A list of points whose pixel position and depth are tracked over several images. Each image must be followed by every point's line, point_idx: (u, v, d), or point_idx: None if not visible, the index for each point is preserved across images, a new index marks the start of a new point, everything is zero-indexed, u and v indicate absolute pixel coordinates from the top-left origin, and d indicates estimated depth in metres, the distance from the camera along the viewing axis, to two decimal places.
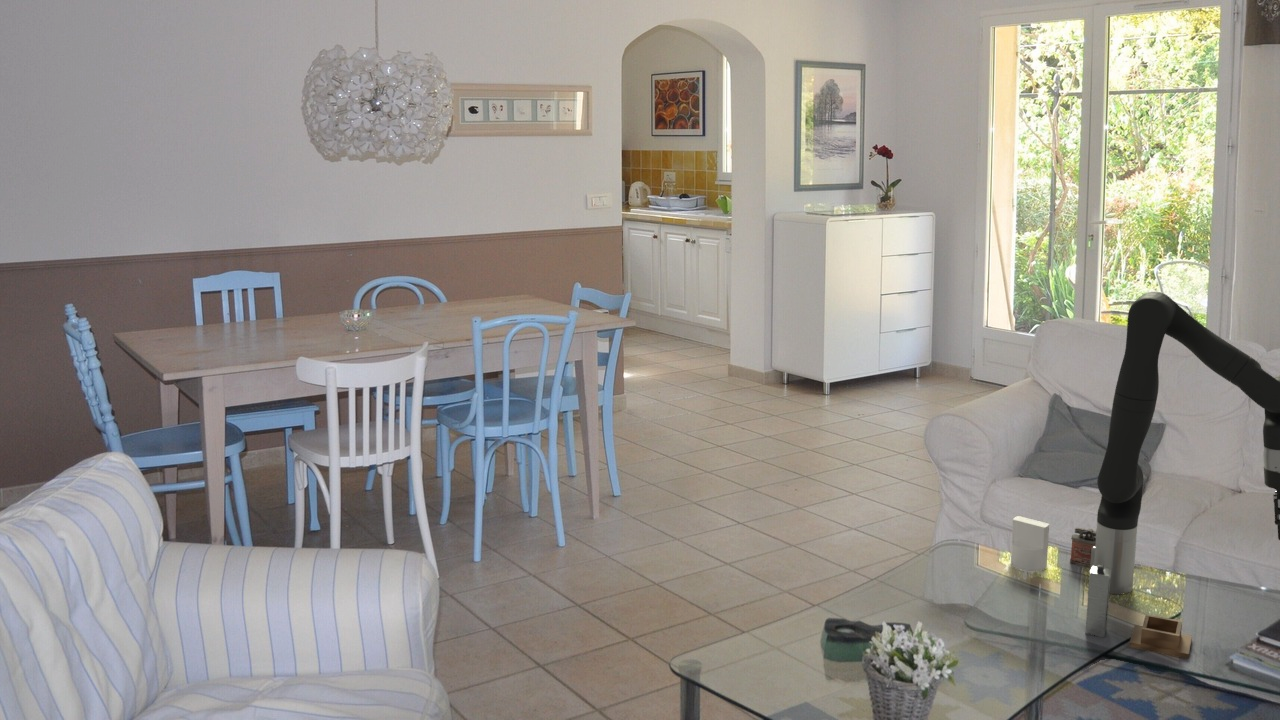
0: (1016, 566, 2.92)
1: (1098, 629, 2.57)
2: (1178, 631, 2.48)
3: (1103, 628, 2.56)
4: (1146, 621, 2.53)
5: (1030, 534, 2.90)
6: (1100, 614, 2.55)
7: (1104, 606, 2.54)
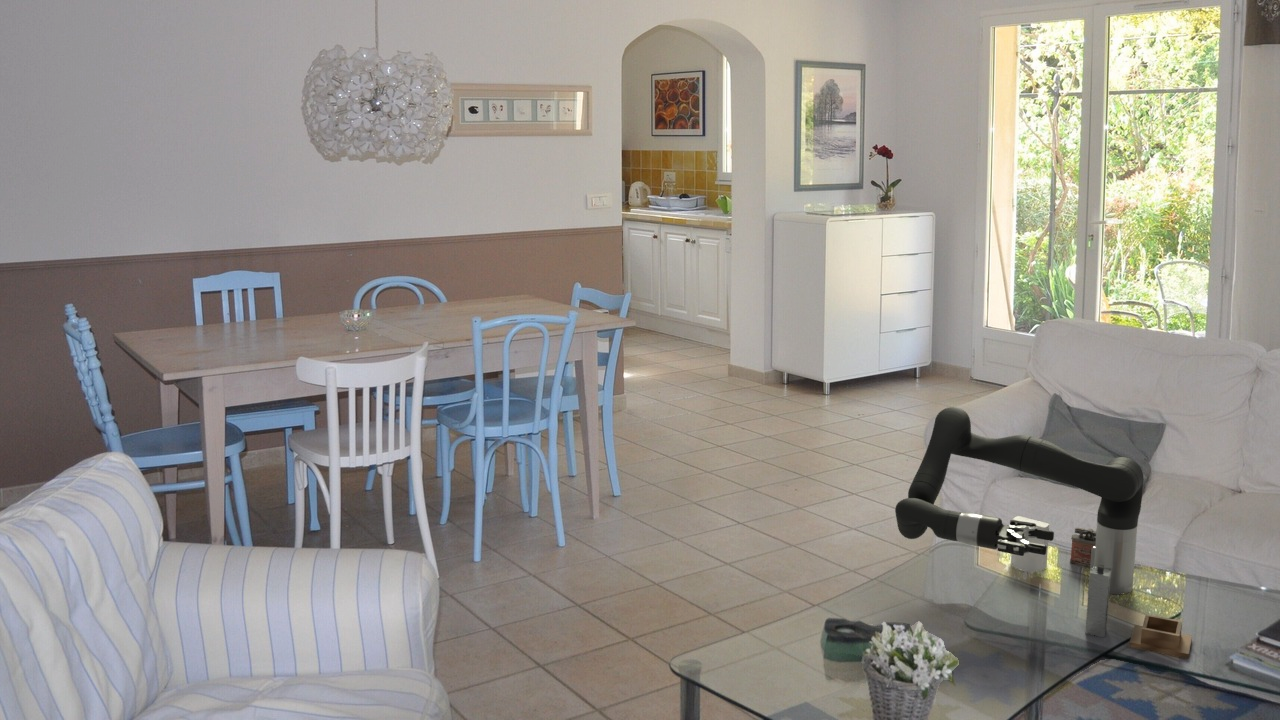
0: (1016, 566, 2.92)
1: (1098, 629, 2.57)
2: (1178, 631, 2.48)
3: (1103, 628, 2.56)
4: (1146, 621, 2.53)
5: None
6: (1100, 614, 2.55)
7: (1104, 606, 2.54)
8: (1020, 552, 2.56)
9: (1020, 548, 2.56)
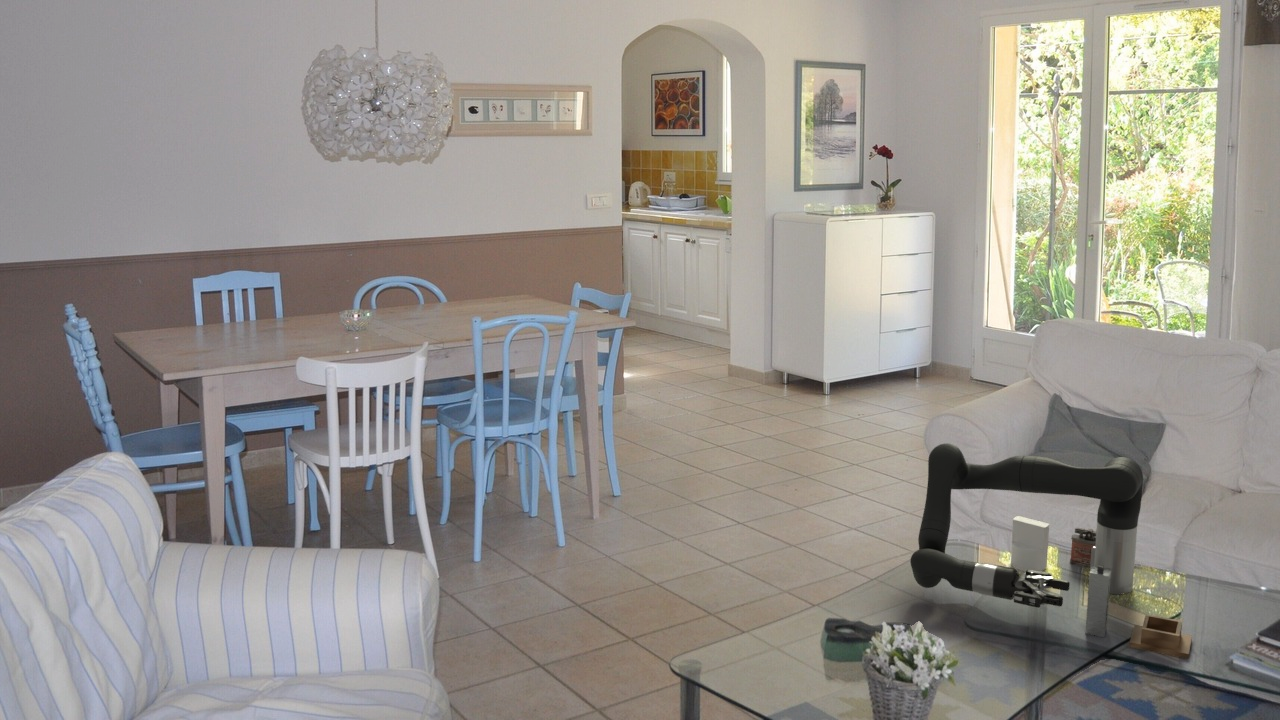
0: (1016, 566, 2.92)
1: (1098, 629, 2.57)
2: (1178, 631, 2.48)
3: (1103, 628, 2.56)
4: (1146, 621, 2.53)
5: (1030, 534, 2.90)
6: (1100, 614, 2.55)
7: (1104, 606, 2.54)
8: (1036, 604, 2.57)
9: (1036, 600, 2.57)
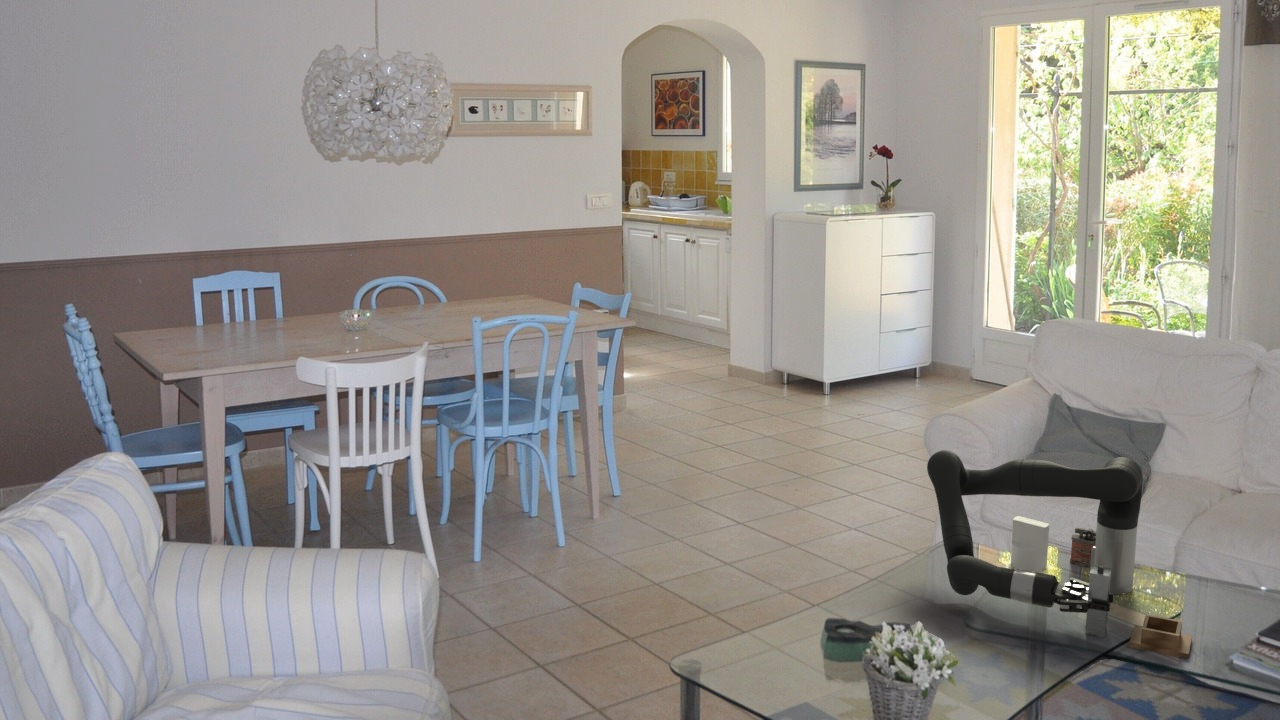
0: (1016, 566, 2.92)
1: (1098, 629, 2.57)
2: (1178, 631, 2.48)
3: (1103, 628, 2.56)
4: (1146, 621, 2.53)
5: (1030, 534, 2.90)
6: (1100, 614, 2.55)
7: None
8: (1083, 609, 2.54)
9: (1083, 605, 2.54)
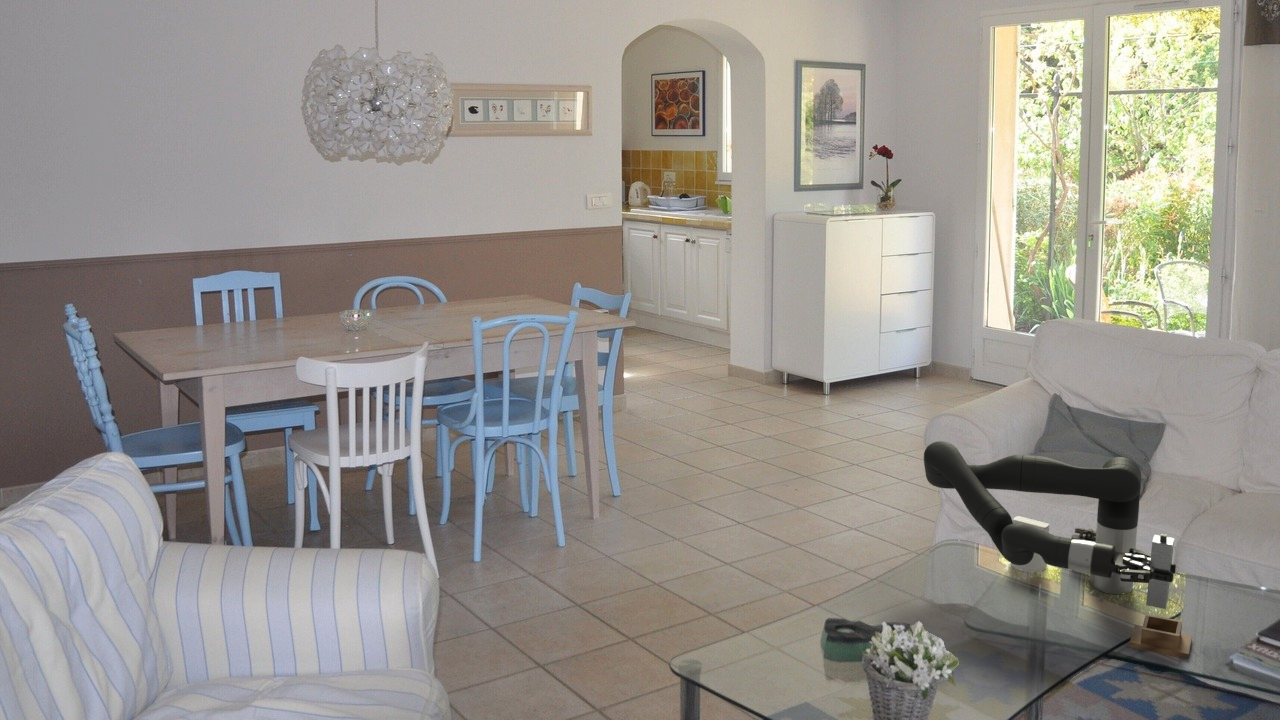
0: (1016, 566, 2.92)
1: (1159, 600, 2.48)
2: (1178, 631, 2.48)
3: (1165, 599, 2.48)
4: (1146, 621, 2.53)
5: None
6: (1162, 585, 2.47)
7: None
8: (1145, 579, 2.46)
9: (1145, 575, 2.45)
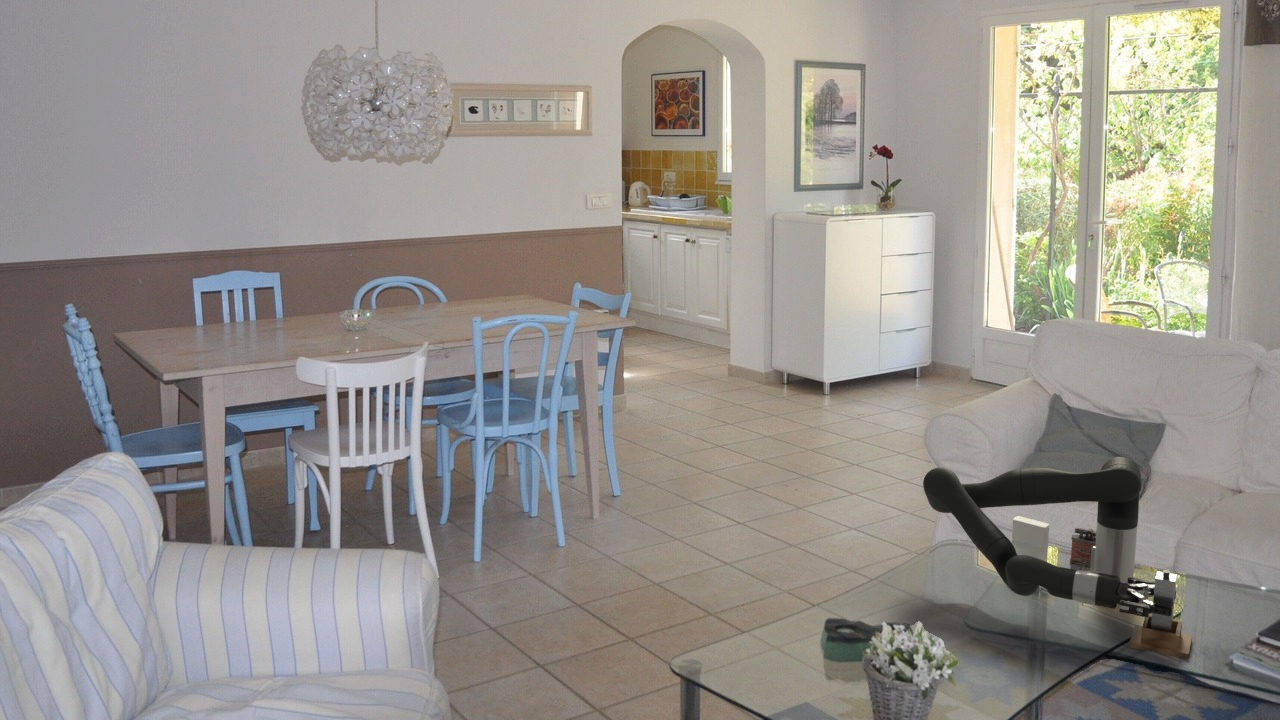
0: None
1: None
2: (1178, 631, 2.48)
3: None
4: (1146, 621, 2.53)
5: (1030, 534, 2.90)
6: (1166, 621, 2.49)
7: None
8: (1144, 613, 2.46)
9: (1145, 609, 2.46)
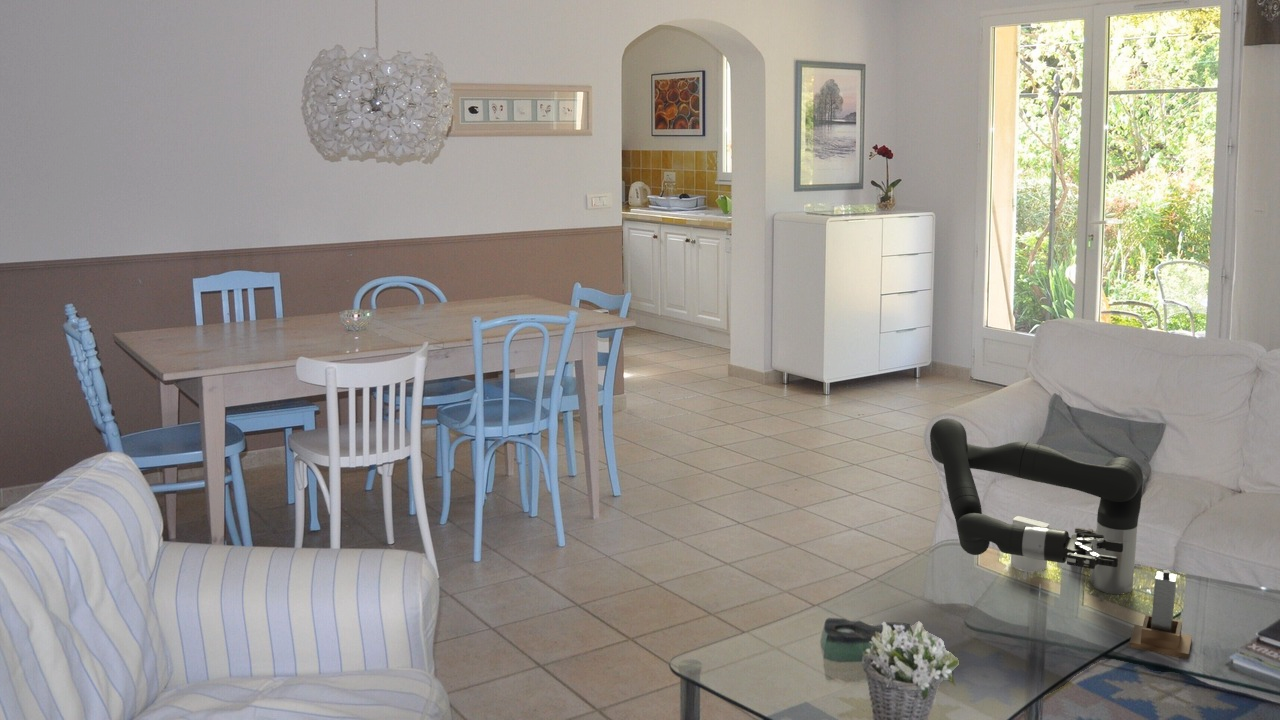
0: (1016, 566, 2.92)
1: None
2: (1178, 631, 2.48)
3: None
4: (1146, 621, 2.53)
5: None
6: (1166, 621, 2.49)
7: (1170, 613, 2.48)
8: (1091, 565, 2.49)
9: (1091, 561, 2.49)
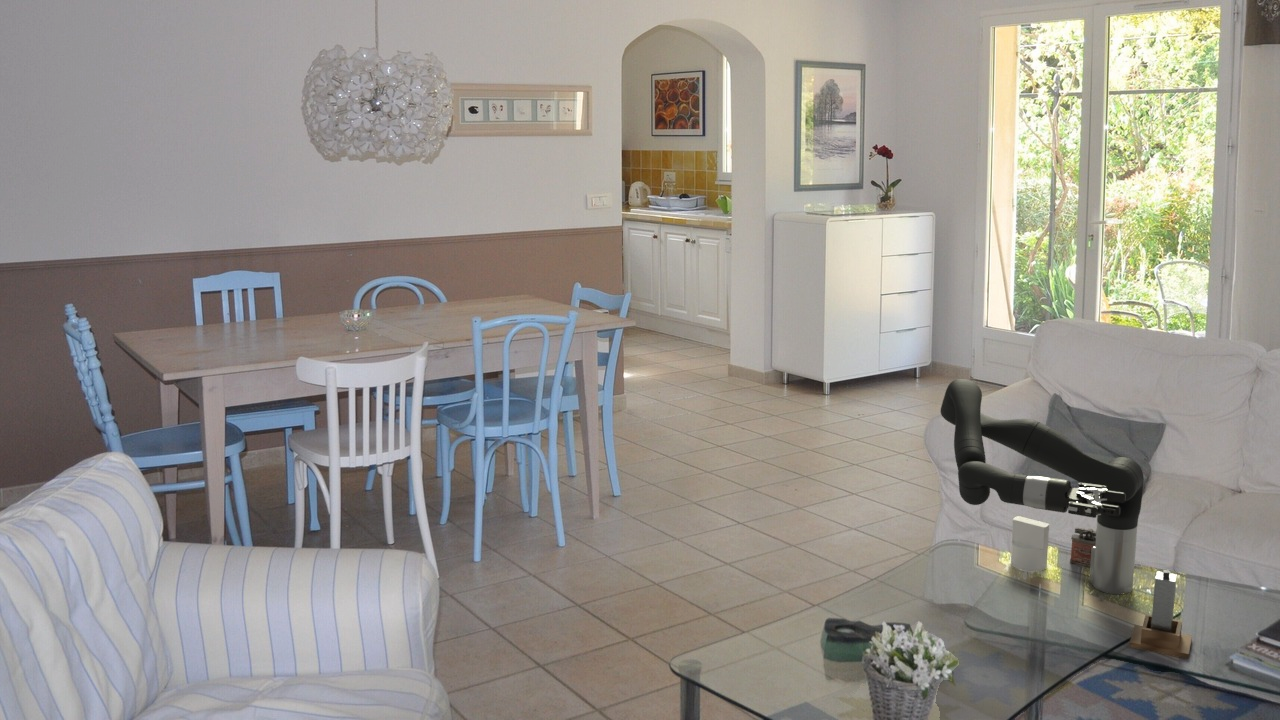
0: (1016, 566, 2.92)
1: None
2: (1178, 631, 2.48)
3: None
4: (1146, 621, 2.53)
5: (1030, 534, 2.90)
6: (1166, 621, 2.49)
7: (1170, 613, 2.48)
8: (1092, 514, 2.46)
9: (1092, 510, 2.46)
